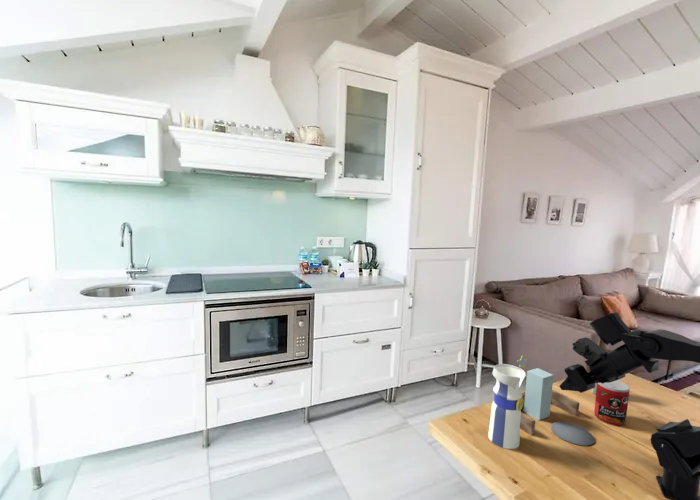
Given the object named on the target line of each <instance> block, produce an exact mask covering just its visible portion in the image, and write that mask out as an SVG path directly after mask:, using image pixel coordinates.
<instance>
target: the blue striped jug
mask: <svg viewBox="0 0 700 500" xmlns="http://www.w3.org/2000/svg"><path fill="white" fill-rule="evenodd" d="M527 361H528V359H526V358H524V356H523V355H521V357H520V359H518V360H516V362H517V363H518V364H519V366H515V365H512V364H509V363H506V364H505V363H498V364H496V365H494V366H493V370H492V372H491V374H492V375H493V377H494V378H495V379H496V383H495V385H494V386H493V389H492V390H493V392H494V397H493V401H492V403H491V407H490V409H491V410H490V416H489V417H490V418H489V419H490V420H489V427H488V433H487V437H488V439H489V441H490V442H491V443H492V444H494V445H495V446H497V447H499V448H502V449H506V450H516V449H518V448H519V446H520V440H521V439H520V436H521V433H520V432H521V429H520V420H521V412H522V411H521V410H522V409H523V408H524V407H523V403H524V400H523V398H522V393H523V392H522V391H521V385H522V383H523V385H526V379H527V372H526V371H524V369H522V368H526V362H527ZM522 407H523V408H522Z"/></svg>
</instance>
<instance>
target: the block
mask: <svg viewBox="0 0 700 500" xmlns="http://www.w3.org/2000/svg"><path fill="white" fill-rule="evenodd" d="M553 383H554V374H552V373H549V372H547V371H545V370H543V369H541V368H539V367H538V368H537V367H536V368H533V369H530V370H527V371H526V382H525V391H524V392H525V402H524V407H523V412H524V414H526V415H529V416H531V418H533V419H535V420H538V421H542V420H544V419H545V418H549V417H550V415H551V414H550V413H551V407H552V405H551V396H552V390H553Z"/></svg>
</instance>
